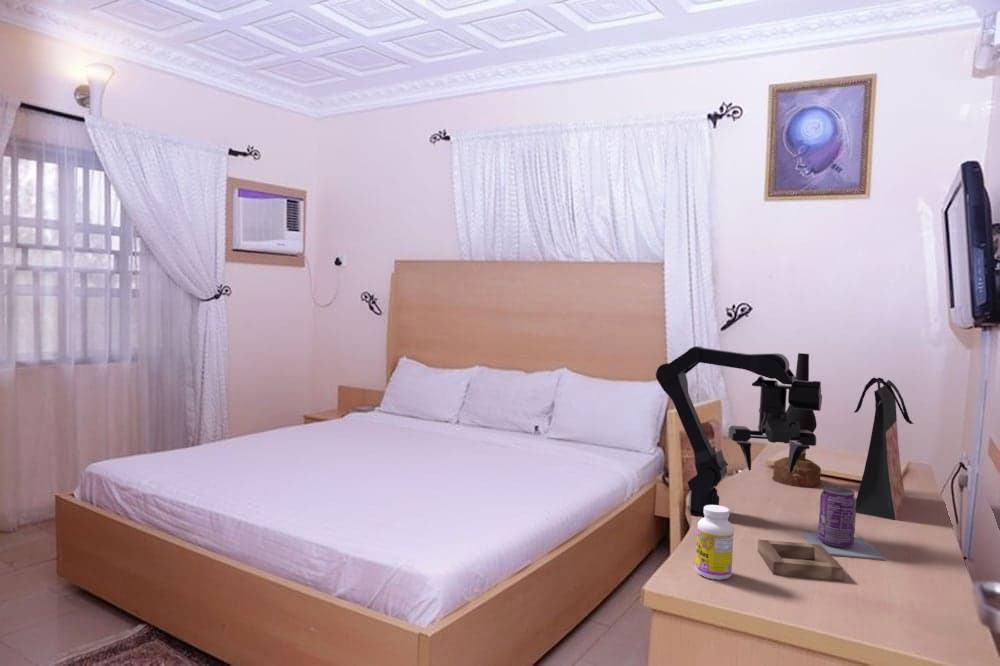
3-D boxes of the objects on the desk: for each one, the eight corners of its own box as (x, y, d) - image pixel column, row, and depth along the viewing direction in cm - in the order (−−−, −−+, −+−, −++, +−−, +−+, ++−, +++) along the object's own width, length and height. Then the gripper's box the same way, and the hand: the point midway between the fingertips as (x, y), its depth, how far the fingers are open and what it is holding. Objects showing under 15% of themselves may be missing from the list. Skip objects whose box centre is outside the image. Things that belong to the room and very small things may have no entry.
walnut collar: (773, 574, 128) (773, 561, 128) (757, 550, 140) (758, 539, 140) (842, 580, 126) (842, 567, 126) (820, 556, 138) (820, 544, 138)
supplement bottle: (689, 567, 130) (693, 502, 129) (722, 567, 130) (725, 503, 130) (703, 581, 123) (706, 513, 123) (737, 581, 124) (740, 513, 123)
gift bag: (855, 490, 194) (862, 371, 193) (912, 499, 186) (920, 376, 184) (837, 512, 170) (845, 378, 169) (901, 525, 162) (910, 383, 160)
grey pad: (819, 554, 139) (819, 552, 139) (800, 533, 152) (800, 532, 152) (885, 560, 138) (885, 558, 138) (860, 538, 150) (860, 537, 150)
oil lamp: (779, 484, 210) (766, 360, 217) (831, 485, 201) (816, 355, 208) (767, 487, 199) (754, 356, 206) (822, 488, 190) (806, 351, 197)
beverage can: (837, 537, 150) (840, 485, 149) (861, 548, 143) (864, 494, 142) (810, 538, 148) (813, 485, 147) (833, 550, 141) (836, 495, 141)
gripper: (739, 409, 150) (735, 477, 151) (826, 413, 147) (822, 482, 148) (729, 402, 161) (726, 465, 162) (810, 406, 158) (806, 471, 159)
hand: (769, 471), depth 157 cm, fingers open, 9 cm apart
